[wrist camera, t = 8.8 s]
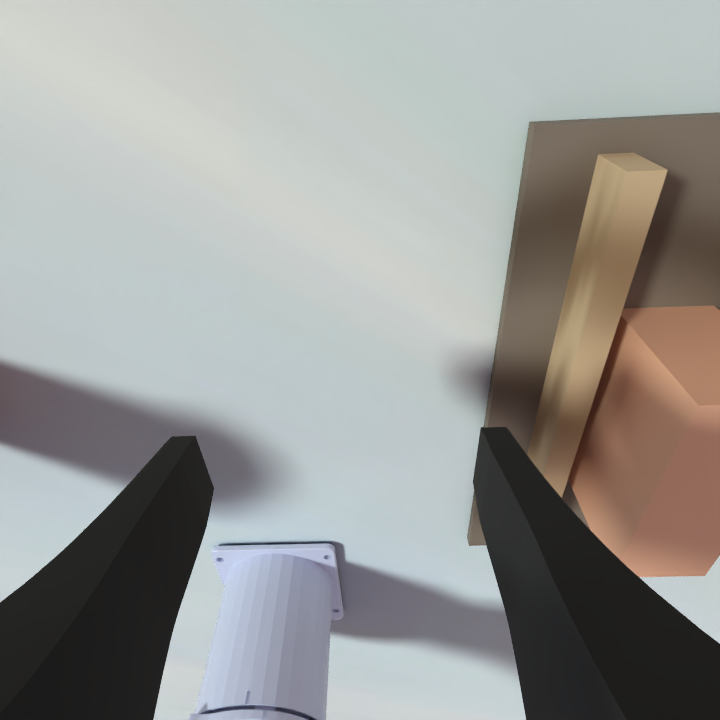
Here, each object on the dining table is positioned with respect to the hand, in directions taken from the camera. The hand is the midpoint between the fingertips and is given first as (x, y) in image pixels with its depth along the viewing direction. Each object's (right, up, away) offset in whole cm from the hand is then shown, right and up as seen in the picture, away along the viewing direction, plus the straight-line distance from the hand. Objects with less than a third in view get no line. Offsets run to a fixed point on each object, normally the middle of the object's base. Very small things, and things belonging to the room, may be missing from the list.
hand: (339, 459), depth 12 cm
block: (+13, +1, +10) cm, 17 cm away
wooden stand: (+13, +1, +11) cm, 17 cm away
